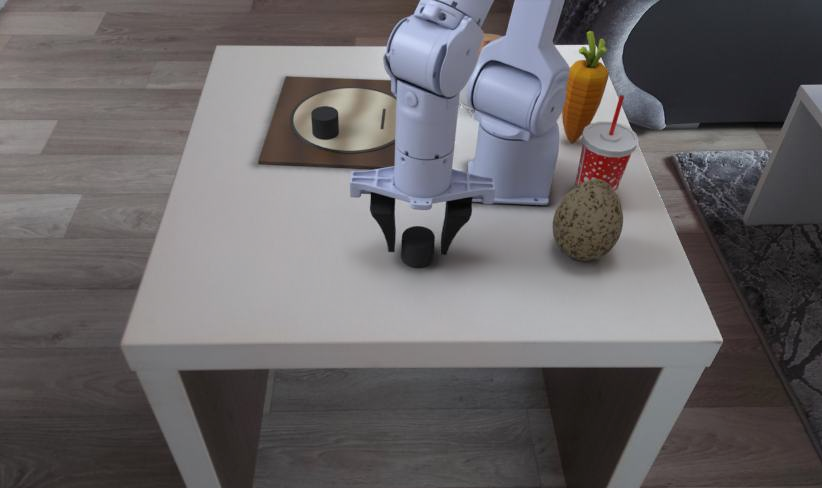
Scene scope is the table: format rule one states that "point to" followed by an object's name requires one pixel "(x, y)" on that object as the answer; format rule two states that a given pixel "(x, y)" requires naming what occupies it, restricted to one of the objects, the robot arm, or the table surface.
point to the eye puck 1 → (325, 122)
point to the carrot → (584, 89)
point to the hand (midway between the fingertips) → (417, 247)
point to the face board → (358, 124)
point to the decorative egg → (588, 221)
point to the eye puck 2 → (417, 246)
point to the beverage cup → (606, 150)
